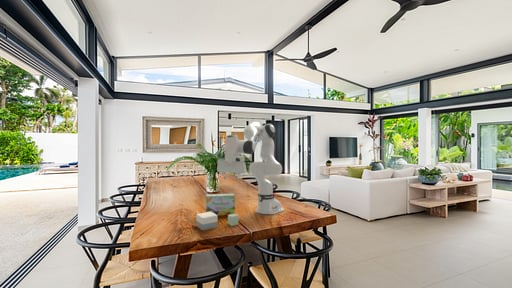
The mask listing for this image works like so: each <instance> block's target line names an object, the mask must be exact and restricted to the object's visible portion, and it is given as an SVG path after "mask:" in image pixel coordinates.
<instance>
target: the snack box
mask: <svg viewBox="0 0 512 288" xmlns="http://www.w3.org/2000/svg"><path fill="white" fill-rule="evenodd" d="M235 204H236V195H235V193H216V194H215V193H214V194H213V193H212V194H211V193H210V194H206V195H205V213H206V212H212V213H214V214H216V215H218V216H228V215H230V214H236V213H235V212H236V205H235Z"/></svg>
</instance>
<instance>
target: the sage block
mask: <svg viewBox="0 0 512 288" xmlns="http://www.w3.org/2000/svg"><path fill="white" fill-rule="evenodd" d="M227 224H228V225H229V226H231V227H233V226H238V225H239V215H238V214H236V213H235V214H230V215H227Z"/></svg>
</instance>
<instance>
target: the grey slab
mask: <svg viewBox="0 0 512 288" xmlns="http://www.w3.org/2000/svg"><path fill="white" fill-rule="evenodd" d="M195 221H196V224H195V225H196V227H197V228H198V229H200V230H202V231H207V230H211V229H216V228H218V221H217V222H213V223H208V224H204V225H203V224H201V223H200V222H198V221H197V220H195Z"/></svg>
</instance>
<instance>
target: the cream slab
mask: <svg viewBox="0 0 512 288" xmlns="http://www.w3.org/2000/svg"><path fill="white" fill-rule="evenodd" d="M218 216H219V215H216V214H214V213H212V212H206V211H205V212H202V213H197V214H196V216H195V217H196V218H195V219H196V220H197V221H198V222H200V223H201V224H203V225H204V224H208V223H213V222H217V223H218ZM196 220H195V221H196Z"/></svg>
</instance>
